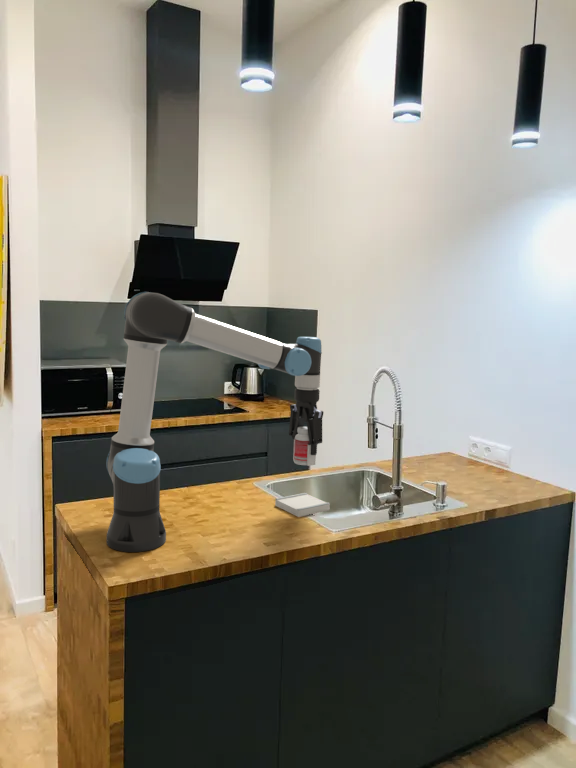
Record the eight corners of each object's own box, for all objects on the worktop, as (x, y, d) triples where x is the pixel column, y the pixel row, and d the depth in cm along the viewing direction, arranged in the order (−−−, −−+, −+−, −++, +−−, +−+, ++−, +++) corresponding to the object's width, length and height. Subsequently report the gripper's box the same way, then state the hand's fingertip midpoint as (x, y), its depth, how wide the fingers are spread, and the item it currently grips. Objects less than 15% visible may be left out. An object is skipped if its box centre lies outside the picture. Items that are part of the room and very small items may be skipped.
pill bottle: (315, 465, 193) (316, 430, 191) (295, 465, 192) (296, 429, 190) (311, 460, 199) (313, 425, 197) (292, 460, 198) (293, 425, 196)
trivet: (298, 517, 189) (298, 509, 189) (275, 505, 198) (275, 498, 198) (329, 510, 196) (329, 503, 196) (305, 499, 206) (305, 492, 205)
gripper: (337, 391, 187) (333, 468, 190) (297, 383, 202) (295, 454, 205) (317, 393, 182) (314, 471, 185) (278, 384, 197) (276, 456, 201)
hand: (304, 462), depth 195 cm, fingers closed on pill bottle, 6 cm apart
